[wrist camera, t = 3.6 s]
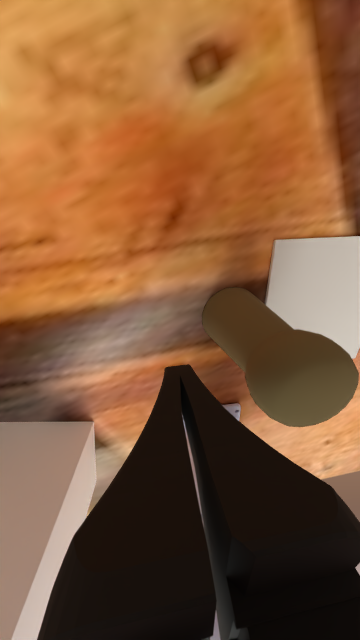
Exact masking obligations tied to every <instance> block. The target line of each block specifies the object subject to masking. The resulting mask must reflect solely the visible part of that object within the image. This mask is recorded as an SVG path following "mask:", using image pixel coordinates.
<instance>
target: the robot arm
mask: <svg viewBox="0 0 360 640" xmlns="http://www.w3.org/2000/svg"><path fill="white" fill-rule="evenodd" d="M240 411H241V406H240V404H238V403H234V404H227V405H222V404H221V403H220V402H219V401H218V400H217V399H216V398H215V397H214V396H213V395H212V394H211V393H210V391H209V390H208V389H207V388H206V387H205V385H204V384H203V383H202V382H201V380H200V379H199V378H198V376H197V375H196V374H195V372H194V371H193V369H192V367H191V366H190V365H189V364H188V365H180V366H171V367H166V368H165V373H164V378H163V382H162V386H161V389H160V392H159V395H158V398H157V400H156V403H155V405H154V408H153V410H152V412H151V415H150V417H149V419H148V421H147V423H146V425H145V427H144V429H143V431H142V433H141V435H140V437H139V439H138V440H137V442H136V444H135V446H134V447H133V449H132V451H131V453H130V454H129V456H128V458H127V459H126V461H125V462H124V464H123V466H122V467H121V469H120V470H119V472H118V473H117V475H116V476H115V478H114V479H113V481H112V482H111V484H110V486H109V487H108V488H107V490H106V491H105V493H104V494H103V496H102V497H101V498H100V500H99V501H98V503H97V504H96V505H95V507H94V508H93V509H92V511H91V512H90V514H89V515H88V516H87V518H86V519H85V520H84V522H83V523H82V525H81V526H80V527H79V529H78V530H77V531H76V533H75V534H74V536H73V538H72V540H71V542H70V545H69V547H68V550H67V552H66V554H65V557H64V559H63V562H62V564H61V567H60V569H59V572H58V575H57V577H56V580H55V582H54V585H53V588H52V591H51V594H50V597H49V601H48V604H47V607H46V611H45V614H44V618H43V621H42V624H41V628H40V631H39V634H38V638H37V640H360V575H359V574H358V572H357V570H356V569H355V567H356V566H357V565H358V564H359V563H360V522H359V521H358V519H357V518H356V517H355V515H354V514H353V513H352V511H351V510H350V509H349V507H348V506H347V505H346V504H345V502H344V501H343V500H342V499H341V498H340V497H339V495H338V494H337V493H336V492H335V490H334V489H333V488H332V487H331V486H330V485H328V484H327V483H325V482H323V481H322V480H320V479H319V478H317V477H315V476H314V475H312V474H311V473H309V472H308V471H306V470H304V469H303V468H301V467H300V466H298V465H296V464H295V463H293V462H292V461H290V460H289V459H288V458H286V457H285V456H283V455H282V454H280V453H279V452H278V451H276V450H275V449H273V448H272V447H271V446H269V445H268V444H267V443H266V442H264V441H263V440H262V439H260V438H259V437H258V436H256V435H255V434H254V433H253V432H251V431H250V430H249V429H248V428H246V427H245V426H244V425H243V424H242V423H241V422H239V419H240Z"/></svg>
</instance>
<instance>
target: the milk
mask: <svg viewBox="0 0 360 640" xmlns="http://www.w3.org/2000/svg"><path fill="white" fill-rule="evenodd" d="M95 484H96V461H95V437H94V422H0V640H37V638H38V634H39V631H40V628H41V624H42V621H43V618H44V614H45V611H46V607H47V604H48V601H49V597H50V594H51V591H52V588H53V585H54V582H55V580H56V577H57V575H58V572H59V569H60V567H61V564H62V562H63V559H64V557H65V554H66V552H67V550H68V547H69V545H70V542H71V540H72V538H73V536H74V534H75V533H76V531H77V530H78V529H79V527H80V526H81V525H82V523H83V522H84V520H85V518H86V515H87V511H88V508H89V505H90V501H91V498H92V494H93V491H94V487H95Z"/></svg>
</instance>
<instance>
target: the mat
mask: <svg viewBox="0 0 360 640" xmlns="http://www.w3.org/2000/svg"><path fill="white" fill-rule="evenodd" d="M265 305H266V306H267V307H269V308H270V309H271V310H272V311H273V312H274V313H276V314H277V315H278V316H279V317H280V318H282V319H283V320H284V321H285V322H286V323H287V324H289V325H290V326H291V327H292V328H293V329H295V330H296V329H300V330H305V331H309V332H314V333H318V334H321V335H323V336H325V337H327V338H329V339H331V340H333V341H334V342H335V343H337V344H338V345H340V346H341V347H342V348H343V349H344V350H345V351H346V352H348V353H349V354H350V356H351V358H352V359H353V358H355V357H356V355H357V353H358V350H359V348H360V236H351V237H329V238H307V239H285V240H274V243H273V250H272V257H271V264H270V270H269V277H268V284H267V291H266V297H265Z"/></svg>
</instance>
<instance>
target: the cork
mask: <svg viewBox="0 0 360 640" xmlns="http://www.w3.org/2000/svg"><path fill="white" fill-rule="evenodd" d="M202 324H203V327H204V330H205V332H206V333H207V334H208V335H209V336H210V337H211V338H212V339H213V340H214V341H215V342H216V343H217V344H218V345H219V346H220V347H221V348H222V349H223V351H224V352H225V353H226V354H227V355H228V356H229V357H230V358H231V359H232V360H233V361H234V362H235V363H236V364H237V365H238V366H239V367H240V368H241V369H242V370H243V371H244V372H245V378H246V382H247V385H248V388H249V392H250V395H251V396H252V398H253V400H254V401H255V403H256V404H257V405H258V406H259V407H260V408H261V409H262V411H264V412H265V413H266V414H267V415H268V416H269V417H270V418H272V419H274V420H276V421H278V422H280V423H282V424H284V425H287V426H292V427H305V426H311V425H316V424H319V423H321V422H324V421H326V420H328V419H330V418H331V417H333V416H335V415H336V414H338V413H339V412H340V411H341V410H342V409H343V408H345V407H346V405H347V404H348V403H349V401H350V400H351V399H352V398H353V395H354V393H355V390H356V388H357V385H358V376H359V373H358V371H357V368H356V366H355V364H354V362H353V360H352V358H351V356H350V354H349V353H348V352H346V351H345V350H344V349H343V348H342V347H341V346H340V345H338V344H337V343H335V342H334V341H333V340H331V339H329V338H327V337H325V336H323V335H321V334H318V333H314V332H309V331H305V330H300V329H296V330H295V329H293V328H292V327H291V326H290V325H289V324H287V323H286V322H285V321H284V320H283V319H282V318H280V317H279V316H278V315H277V314H276V313H274V312H273V311H272V310H271V309H270V308H269V307H267V306H266V305H265V304H264V303H263V302H261V301H260V300H259V299H258V298H257V297H256V296H254V295H253V294H252V293H250V292H249V291H248V290H246V289H243V288H239V287H231V288H226V289H224V290H221V291H219V292H217V293H216V294H215V295H214V296H212V297H211V298H210V299H209V301H208V302H207V304H206V305H205V307H204V311H203V314H202Z"/></svg>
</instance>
